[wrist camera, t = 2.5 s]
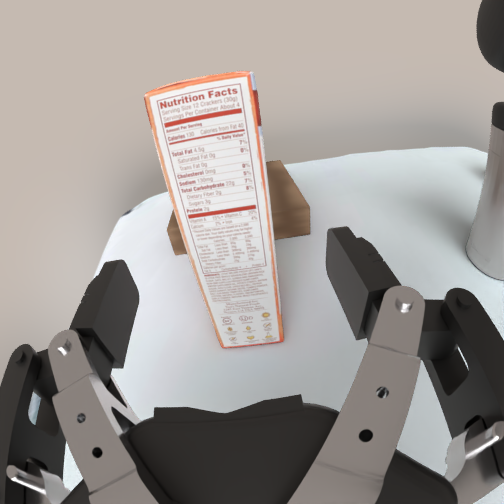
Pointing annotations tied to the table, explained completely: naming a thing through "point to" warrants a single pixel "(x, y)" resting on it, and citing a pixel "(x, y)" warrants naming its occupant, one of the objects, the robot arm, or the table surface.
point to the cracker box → (221, 199)
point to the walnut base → (282, 208)
